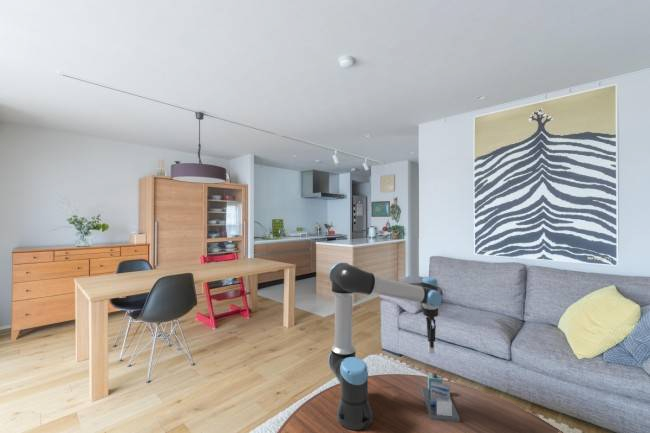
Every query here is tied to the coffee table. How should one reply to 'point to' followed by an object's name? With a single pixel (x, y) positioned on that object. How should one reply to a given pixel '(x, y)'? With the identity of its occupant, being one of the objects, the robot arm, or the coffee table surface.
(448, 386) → the medicine box
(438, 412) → the base
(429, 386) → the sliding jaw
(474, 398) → the coffee table surface
